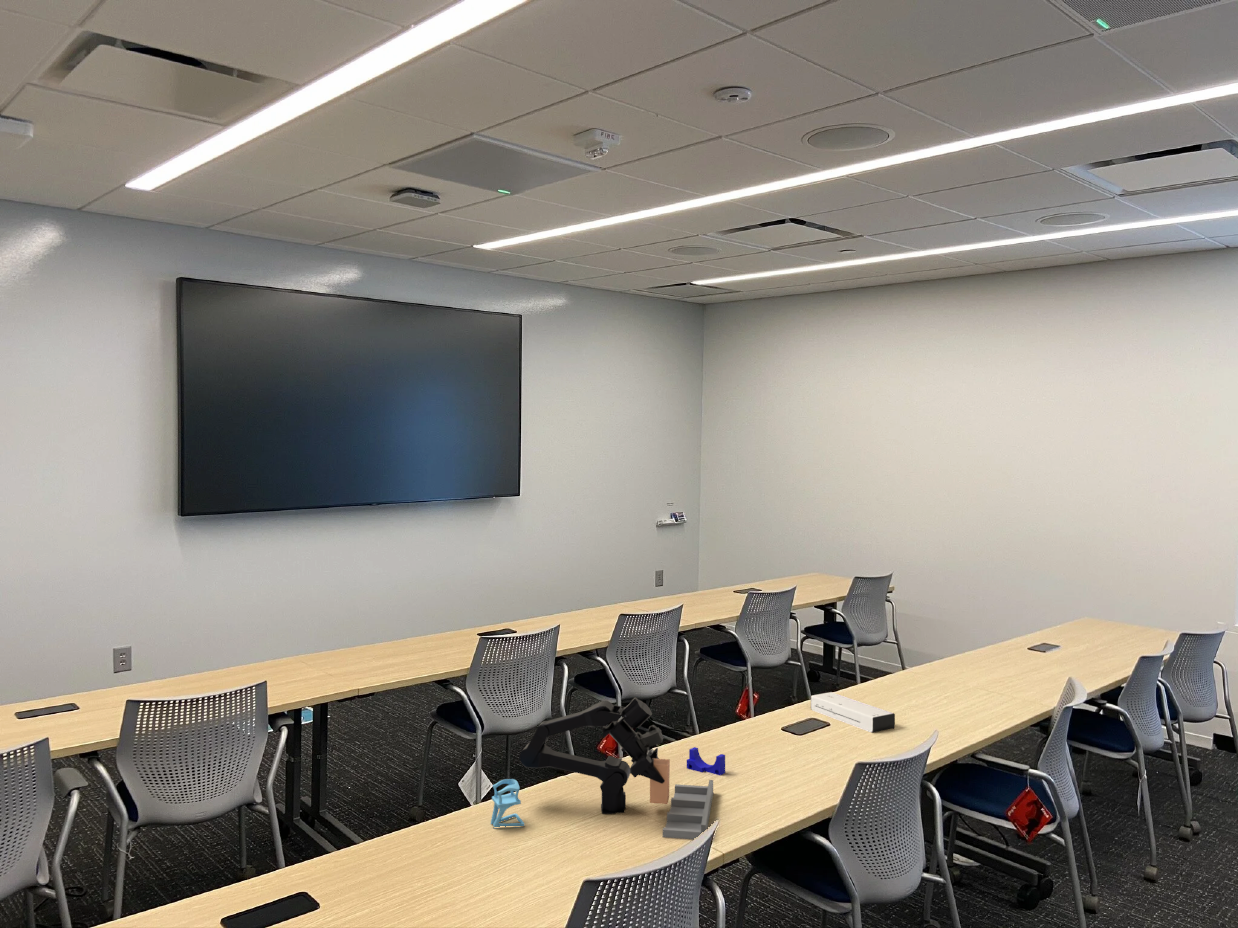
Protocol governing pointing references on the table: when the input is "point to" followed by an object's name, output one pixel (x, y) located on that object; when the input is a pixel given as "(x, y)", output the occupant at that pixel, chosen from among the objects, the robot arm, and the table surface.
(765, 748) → the table surface
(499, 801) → the chair
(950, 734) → the table surface
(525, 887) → the table surface
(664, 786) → the terracotta block
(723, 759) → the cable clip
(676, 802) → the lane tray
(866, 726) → the laminator
